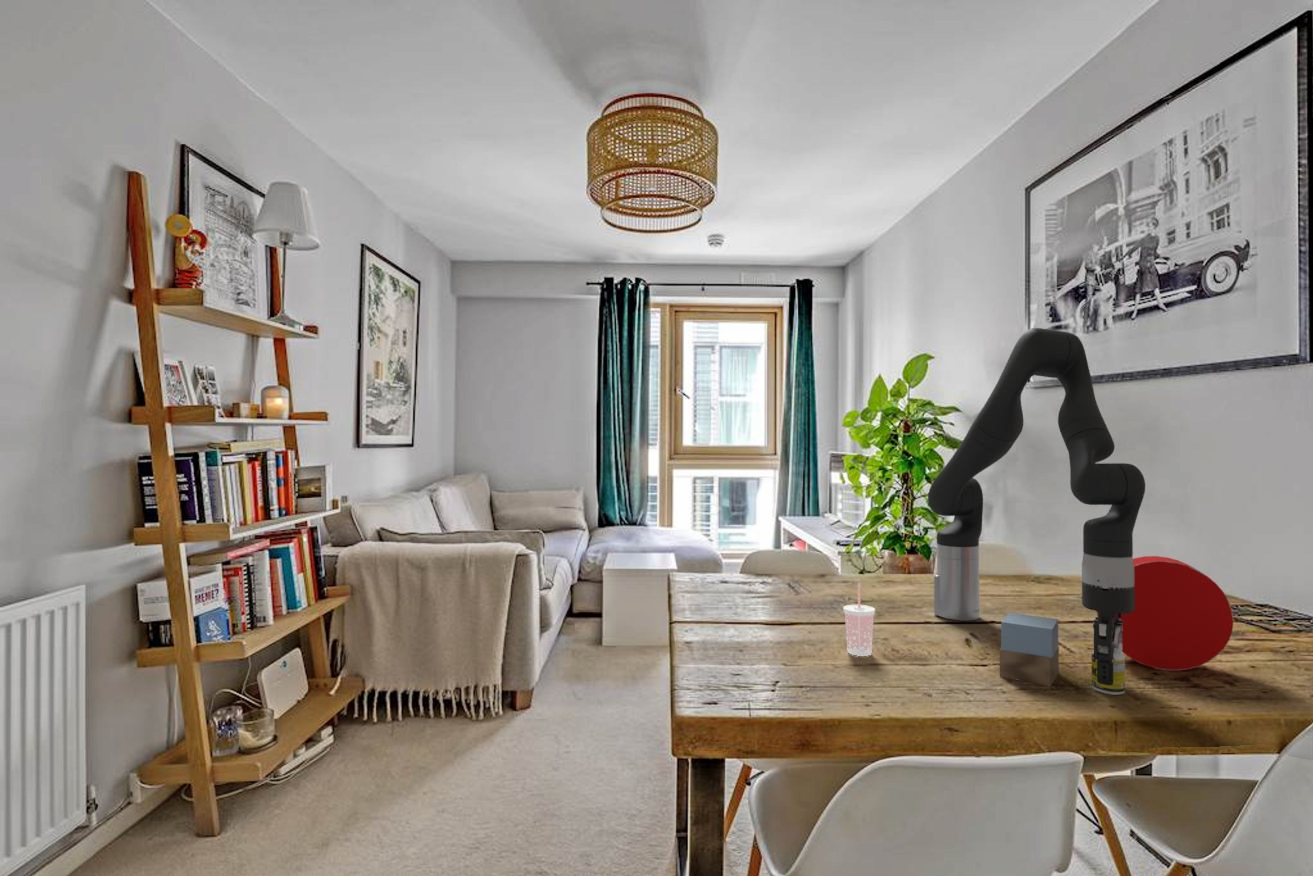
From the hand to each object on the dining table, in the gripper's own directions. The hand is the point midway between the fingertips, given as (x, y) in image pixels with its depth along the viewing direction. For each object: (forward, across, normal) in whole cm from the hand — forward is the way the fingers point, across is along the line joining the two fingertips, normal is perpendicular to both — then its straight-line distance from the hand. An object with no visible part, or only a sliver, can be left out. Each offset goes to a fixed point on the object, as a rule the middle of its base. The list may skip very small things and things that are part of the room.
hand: (1108, 677), depth 117 cm
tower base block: (+2, 0, -12) cm, 12 cm away
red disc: (+2, -21, +6) cm, 22 cm away
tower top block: (-3, 0, -12) cm, 12 cm away
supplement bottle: (+2, 0, 0) cm, 2 cm away
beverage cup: (+2, +7, -41) cm, 42 cm away
